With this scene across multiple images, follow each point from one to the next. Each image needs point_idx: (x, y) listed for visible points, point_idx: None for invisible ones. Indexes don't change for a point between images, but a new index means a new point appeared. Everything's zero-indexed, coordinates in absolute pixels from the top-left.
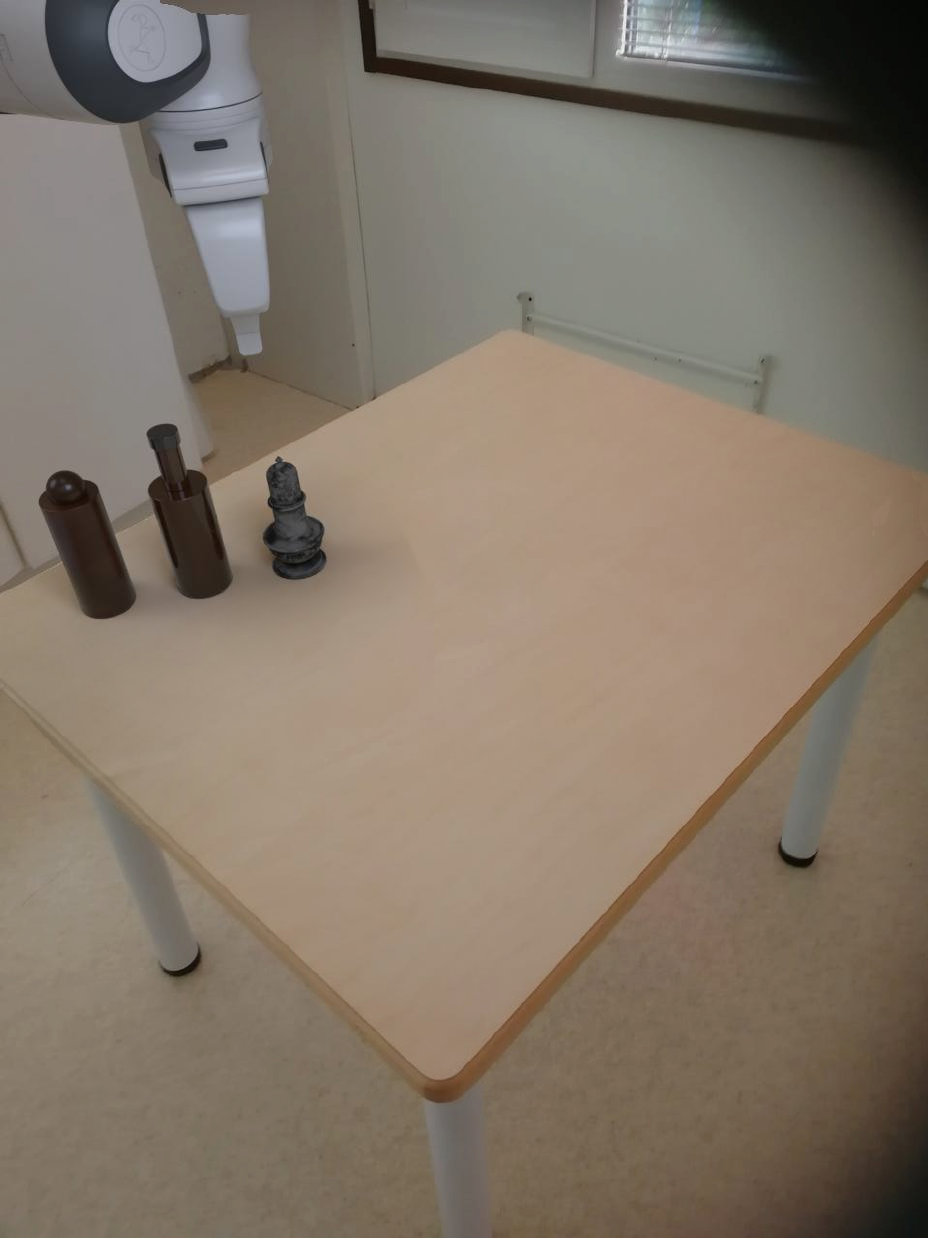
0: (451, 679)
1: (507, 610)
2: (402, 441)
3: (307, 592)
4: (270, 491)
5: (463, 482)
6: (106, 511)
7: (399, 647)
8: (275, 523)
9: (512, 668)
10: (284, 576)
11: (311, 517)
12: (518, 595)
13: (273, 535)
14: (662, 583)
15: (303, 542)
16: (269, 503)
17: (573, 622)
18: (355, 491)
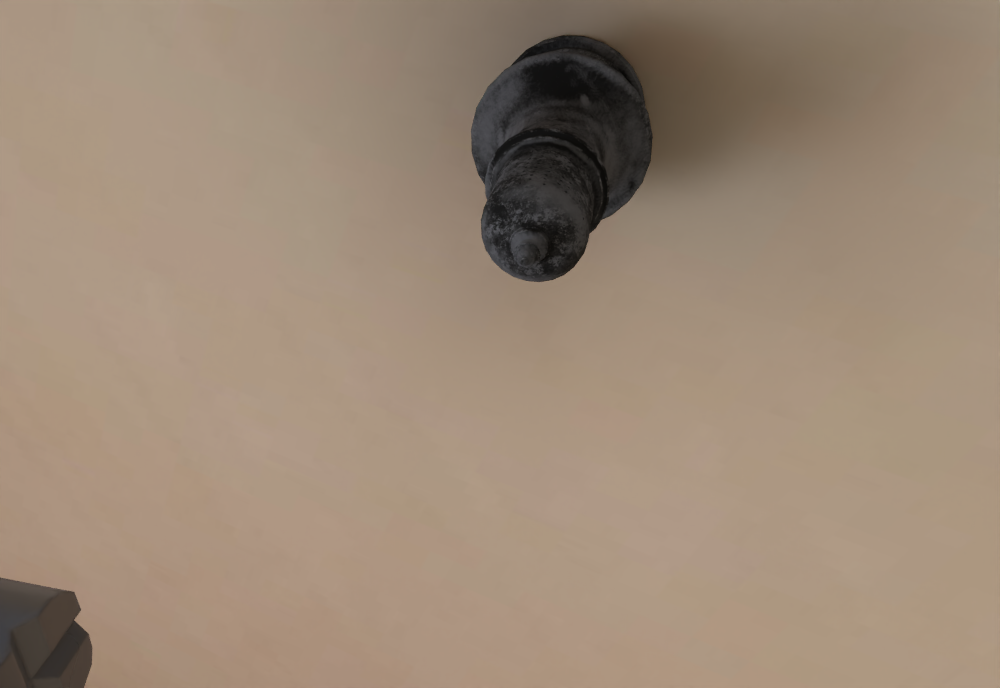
0: (93, 277)
1: (256, 427)
2: (968, 498)
3: (439, 97)
4: (523, 162)
5: (700, 530)
6: None
7: (196, 225)
8: (546, 115)
9: (106, 373)
10: (520, 58)
11: (608, 210)
12: (291, 458)
13: (548, 89)
14: (261, 626)
15: (490, 159)
16: (542, 134)
17: (200, 494)
18: (814, 331)
